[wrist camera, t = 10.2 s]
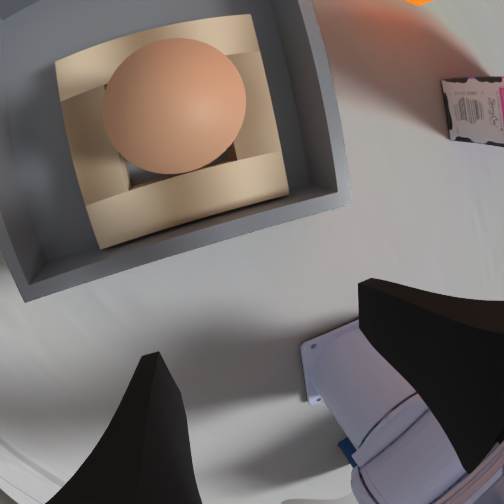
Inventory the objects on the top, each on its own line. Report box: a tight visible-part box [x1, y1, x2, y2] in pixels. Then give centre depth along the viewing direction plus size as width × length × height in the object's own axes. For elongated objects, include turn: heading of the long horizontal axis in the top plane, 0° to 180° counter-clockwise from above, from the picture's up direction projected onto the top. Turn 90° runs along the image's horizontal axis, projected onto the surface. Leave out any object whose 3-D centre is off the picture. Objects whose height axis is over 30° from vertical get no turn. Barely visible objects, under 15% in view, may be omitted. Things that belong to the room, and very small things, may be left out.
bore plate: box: [55, 14, 289, 250], centre depth 13 cm, size 10×10×2 cm
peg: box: [102, 38, 246, 174], centre depth 11 cm, size 4×4×8 cm
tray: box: [0, 0, 352, 303], centre depth 12 cm, size 18×18×4 cm
